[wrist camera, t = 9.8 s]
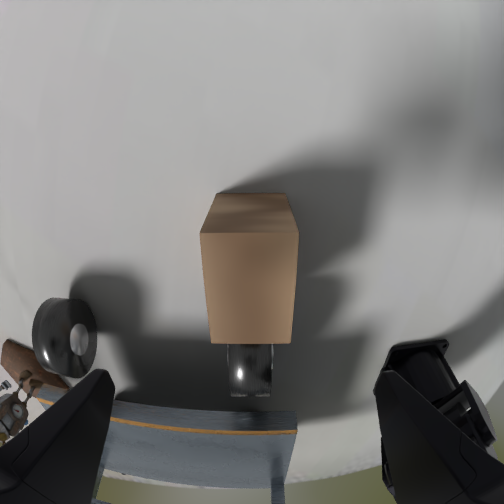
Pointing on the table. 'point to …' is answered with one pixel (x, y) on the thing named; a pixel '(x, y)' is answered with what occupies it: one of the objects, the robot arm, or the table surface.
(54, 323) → the trolley
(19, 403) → the robot figurine
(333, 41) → the table surface
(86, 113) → the table surface
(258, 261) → the block
